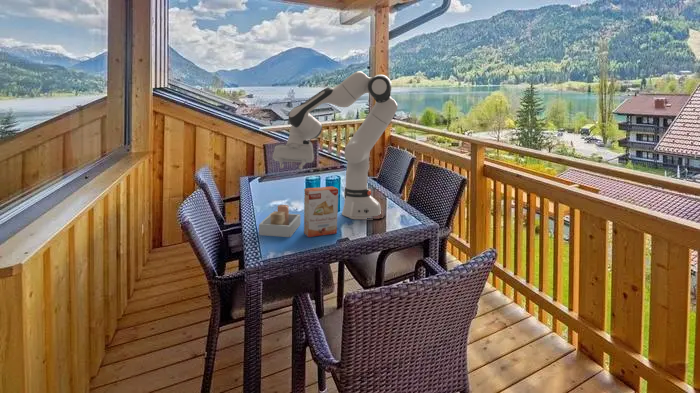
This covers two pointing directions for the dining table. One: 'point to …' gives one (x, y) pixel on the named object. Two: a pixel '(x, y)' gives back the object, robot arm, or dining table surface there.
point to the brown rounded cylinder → (285, 209)
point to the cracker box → (320, 211)
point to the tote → (279, 227)
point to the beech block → (278, 218)
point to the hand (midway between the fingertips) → (290, 167)
